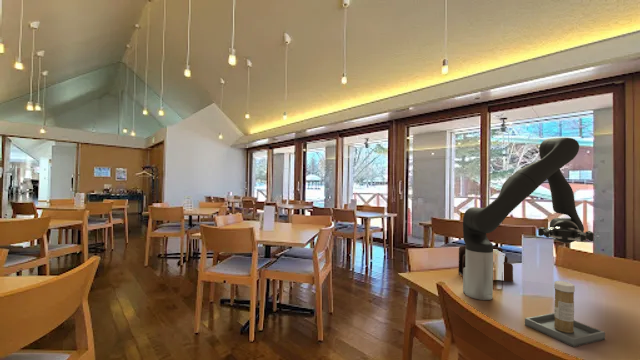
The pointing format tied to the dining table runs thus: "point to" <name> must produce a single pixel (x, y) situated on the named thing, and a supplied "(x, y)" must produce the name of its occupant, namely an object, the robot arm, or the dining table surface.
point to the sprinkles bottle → (564, 306)
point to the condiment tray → (578, 337)
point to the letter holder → (507, 266)
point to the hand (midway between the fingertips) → (564, 236)
